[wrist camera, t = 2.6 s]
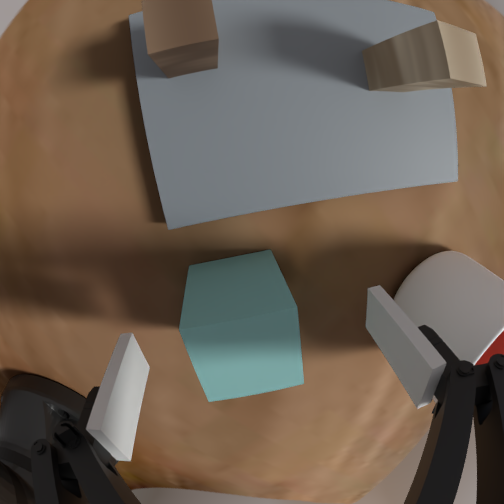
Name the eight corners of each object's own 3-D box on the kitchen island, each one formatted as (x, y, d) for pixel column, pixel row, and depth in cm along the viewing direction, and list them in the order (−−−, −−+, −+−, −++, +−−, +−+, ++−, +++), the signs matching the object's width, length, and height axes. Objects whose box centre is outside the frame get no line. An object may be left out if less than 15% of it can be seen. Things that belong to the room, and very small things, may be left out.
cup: (366, 294, 21) (439, 386, 12) (456, 222, 20) (546, 274, 10) (397, 360, 25) (447, 434, 15) (470, 300, 23) (531, 355, 14)
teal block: (208, 330, 20) (209, 401, 14) (189, 265, 18) (178, 329, 12) (280, 315, 20) (303, 383, 14) (270, 249, 18) (297, 306, 12)
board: (171, 223, 17) (168, 229, 16) (133, 22, 12) (128, 15, 11) (447, 178, 18) (457, 181, 17) (424, 16, 13) (434, 12, 12)
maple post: (369, 91, 14) (450, 78, 8) (361, 50, 13) (437, 20, 7) (403, 92, 14) (486, 86, 8) (396, 54, 13) (475, 33, 7)
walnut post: (168, 78, 13) (147, 54, 8) (162, 37, 12) (141, 1, 7) (217, 68, 13) (218, 39, 8) (210, 27, 12) (209, -14, 7)
